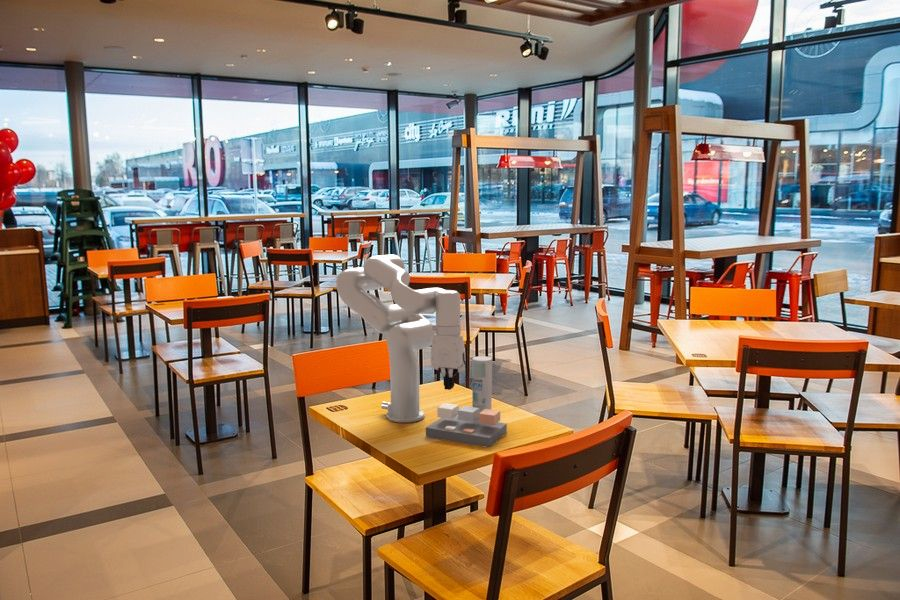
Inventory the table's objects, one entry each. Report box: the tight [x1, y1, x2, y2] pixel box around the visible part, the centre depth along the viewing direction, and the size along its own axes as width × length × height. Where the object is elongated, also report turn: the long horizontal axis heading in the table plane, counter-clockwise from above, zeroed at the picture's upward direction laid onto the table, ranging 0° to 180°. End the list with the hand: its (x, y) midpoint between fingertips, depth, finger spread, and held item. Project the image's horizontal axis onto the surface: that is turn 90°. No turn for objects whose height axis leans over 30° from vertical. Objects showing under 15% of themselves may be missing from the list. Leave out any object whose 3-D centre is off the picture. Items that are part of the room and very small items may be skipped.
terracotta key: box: [479, 409, 501, 425], centre depth 210 cm, size 5×5×3 cm
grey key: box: [457, 405, 479, 422], centre depth 213 cm, size 5×5×3 cm
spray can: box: [471, 355, 493, 419], centre depth 228 cm, size 6×6×20 cm
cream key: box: [437, 402, 460, 419], centre depth 216 cm, size 5×5×3 cm
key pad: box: [425, 415, 508, 448], centre depth 212 cm, size 21×14×4 cm, turn 64°
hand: (449, 388), depth 214 cm, fingers closed
